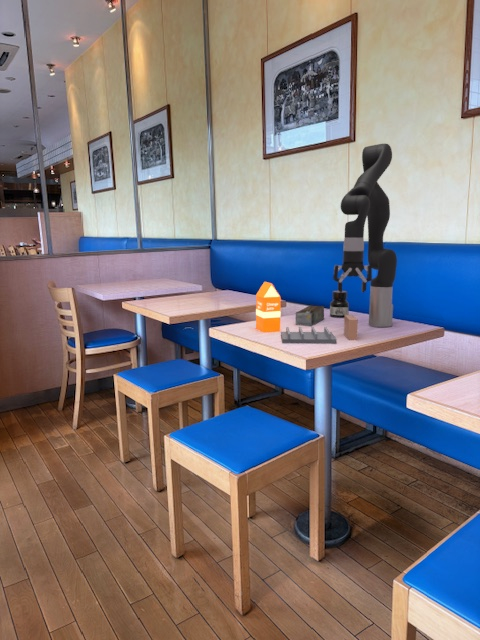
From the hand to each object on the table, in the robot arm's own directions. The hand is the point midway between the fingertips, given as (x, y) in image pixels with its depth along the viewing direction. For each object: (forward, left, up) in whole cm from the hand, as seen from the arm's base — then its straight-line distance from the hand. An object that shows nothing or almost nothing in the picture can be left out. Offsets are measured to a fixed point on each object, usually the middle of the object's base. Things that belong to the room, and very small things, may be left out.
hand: (351, 292), depth 185 cm
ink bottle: (-3, -45, -18) cm, 49 cm away
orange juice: (+32, -13, -18) cm, 39 cm away
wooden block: (0, 0, -18) cm, 18 cm away
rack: (+17, +4, -18) cm, 25 cm away
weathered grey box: (+12, -31, -18) cm, 38 cm away
